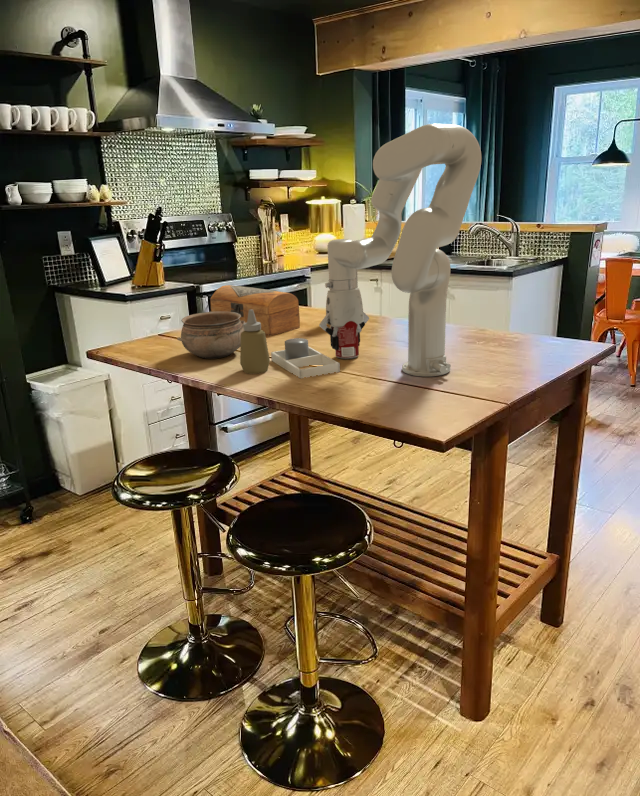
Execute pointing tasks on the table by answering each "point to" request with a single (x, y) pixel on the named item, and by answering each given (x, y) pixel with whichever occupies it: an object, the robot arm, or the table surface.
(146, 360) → the table surface
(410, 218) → the robot arm
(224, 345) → the cooking pot
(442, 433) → the table surface
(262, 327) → the wooden box
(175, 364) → the table surface
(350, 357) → the soda can
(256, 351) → the squeeze bottle
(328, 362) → the caddy
